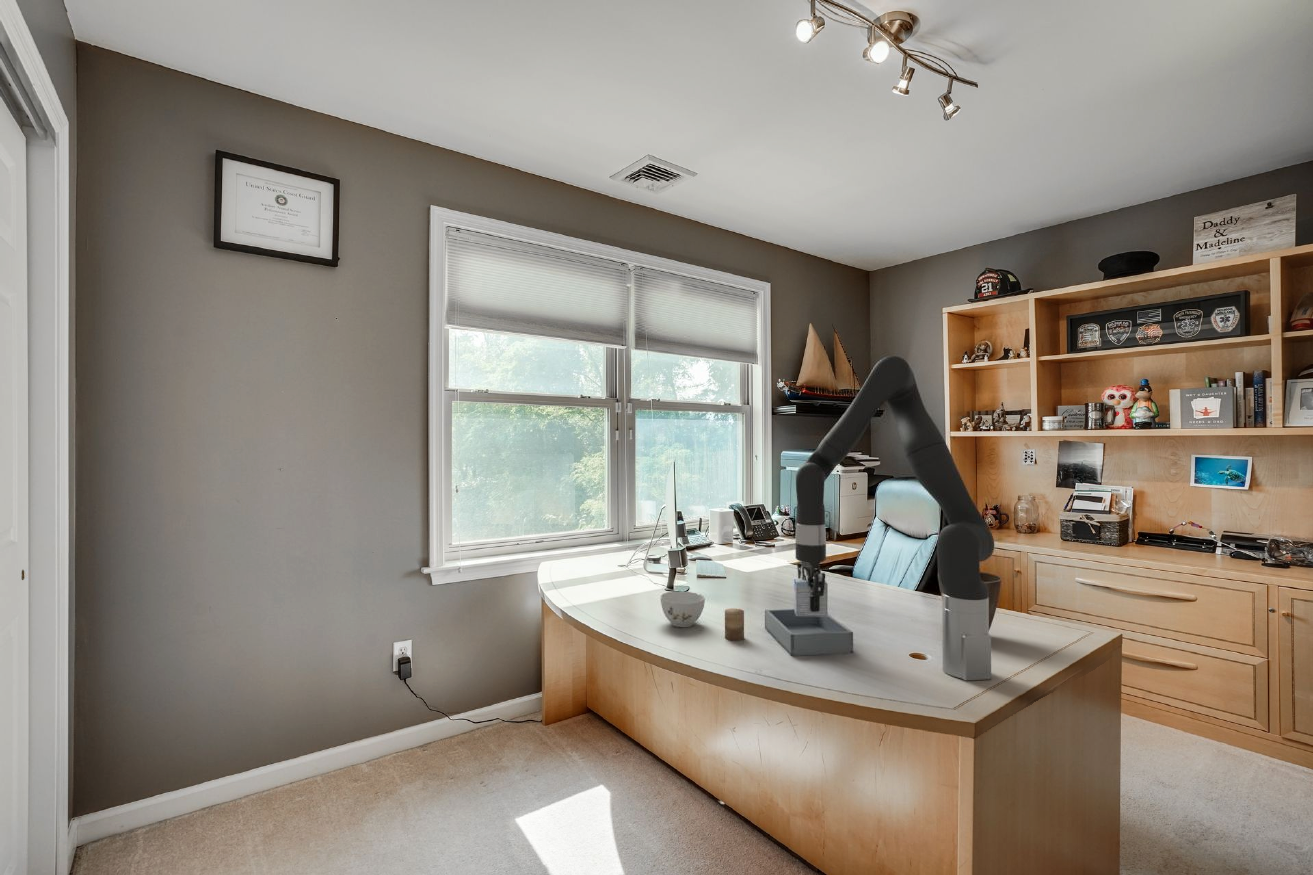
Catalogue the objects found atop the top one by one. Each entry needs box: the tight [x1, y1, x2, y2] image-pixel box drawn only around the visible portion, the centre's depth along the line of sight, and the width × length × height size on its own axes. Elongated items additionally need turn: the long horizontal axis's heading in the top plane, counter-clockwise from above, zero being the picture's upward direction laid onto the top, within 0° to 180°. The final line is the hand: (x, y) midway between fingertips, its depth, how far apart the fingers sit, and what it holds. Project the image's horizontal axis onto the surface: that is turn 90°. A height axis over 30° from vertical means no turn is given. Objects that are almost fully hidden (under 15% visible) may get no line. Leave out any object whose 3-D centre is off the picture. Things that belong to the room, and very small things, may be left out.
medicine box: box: [793, 578, 829, 617], centre depth 158 cm, size 8×4×9 cm, turn 84°
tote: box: [764, 608, 854, 657], centre depth 160 cm, size 22×16×5 cm
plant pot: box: [937, 571, 1002, 631], centre depth 162 cm, size 15×15×16 cm
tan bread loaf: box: [724, 607, 745, 642], centre depth 162 cm, size 5×5×7 cm
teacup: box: [660, 590, 706, 628], centre depth 175 cm, size 15×12×8 cm
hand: (810, 608), depth 158 cm, fingers closed on medicine box, 5 cm apart
